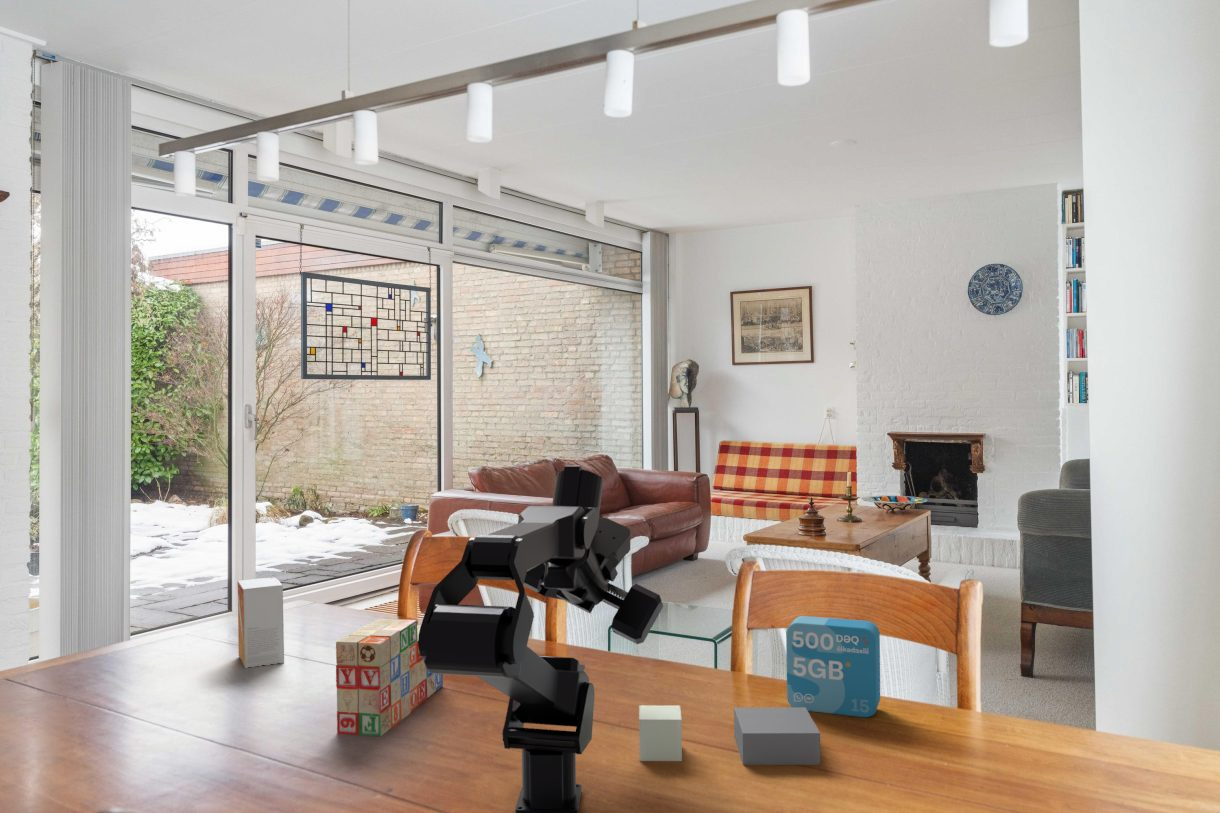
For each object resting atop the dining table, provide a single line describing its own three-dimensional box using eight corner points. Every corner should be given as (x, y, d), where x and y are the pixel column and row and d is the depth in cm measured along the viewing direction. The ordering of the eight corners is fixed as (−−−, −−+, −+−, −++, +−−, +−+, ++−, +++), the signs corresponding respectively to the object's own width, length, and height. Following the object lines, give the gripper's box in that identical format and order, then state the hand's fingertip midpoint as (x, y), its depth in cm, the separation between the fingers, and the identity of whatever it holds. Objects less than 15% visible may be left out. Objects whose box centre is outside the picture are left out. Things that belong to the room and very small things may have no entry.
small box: (237, 657, 156) (236, 580, 156) (277, 651, 159) (276, 576, 159) (243, 669, 149) (242, 588, 149) (284, 663, 152) (283, 584, 152)
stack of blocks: (404, 684, 140) (403, 603, 140) (443, 686, 139) (442, 605, 139) (336, 734, 119) (334, 639, 119) (381, 737, 118) (380, 641, 118)
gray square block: (820, 767, 108) (820, 733, 107) (743, 767, 108) (742, 733, 108) (805, 738, 117) (805, 707, 116) (734, 739, 117) (734, 707, 117)
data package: (786, 709, 127) (785, 622, 127) (793, 699, 131) (792, 614, 131) (876, 719, 122) (876, 629, 122) (880, 708, 127) (879, 621, 126)
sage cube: (681, 761, 109) (681, 719, 109) (639, 761, 109) (639, 719, 109) (680, 745, 114) (679, 705, 114) (639, 745, 114) (639, 705, 114)
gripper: (675, 540, 108) (691, 589, 121) (545, 481, 116) (573, 533, 129) (629, 623, 104) (650, 664, 117) (497, 556, 112) (531, 602, 125)
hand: (600, 612), depth 122 cm, fingers open, 9 cm apart
